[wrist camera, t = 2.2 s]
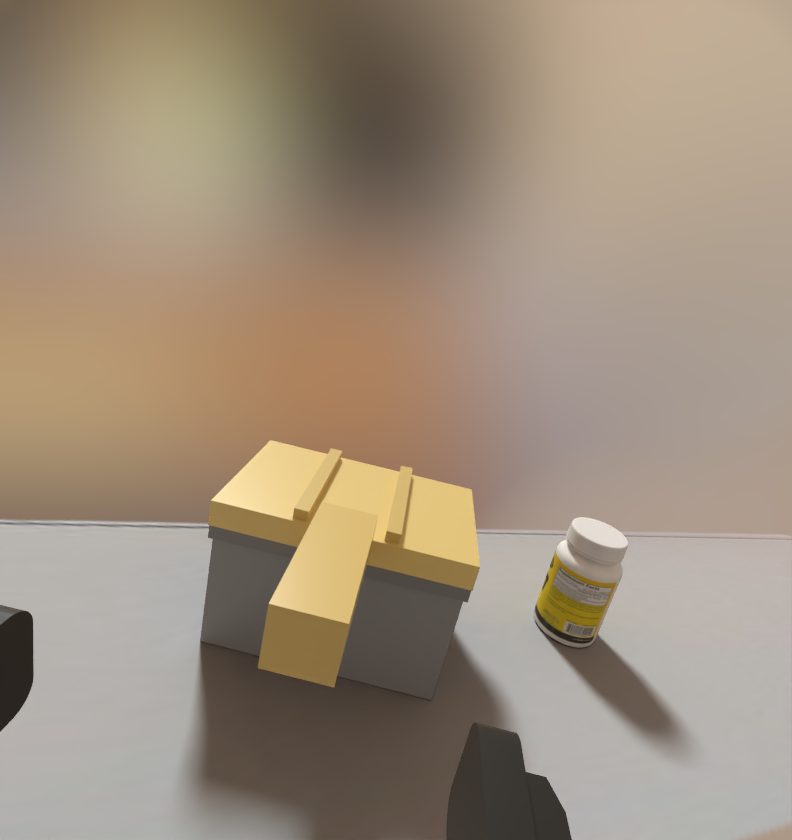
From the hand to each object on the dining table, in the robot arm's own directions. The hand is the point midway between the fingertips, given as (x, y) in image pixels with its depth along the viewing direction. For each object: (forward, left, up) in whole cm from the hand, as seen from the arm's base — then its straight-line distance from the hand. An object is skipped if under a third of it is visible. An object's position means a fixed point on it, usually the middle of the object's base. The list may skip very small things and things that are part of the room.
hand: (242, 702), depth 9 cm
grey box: (0, +21, -16) cm, 27 cm away
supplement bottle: (+17, +27, -16) cm, 36 cm away
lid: (0, +17, -8) cm, 19 cm away
